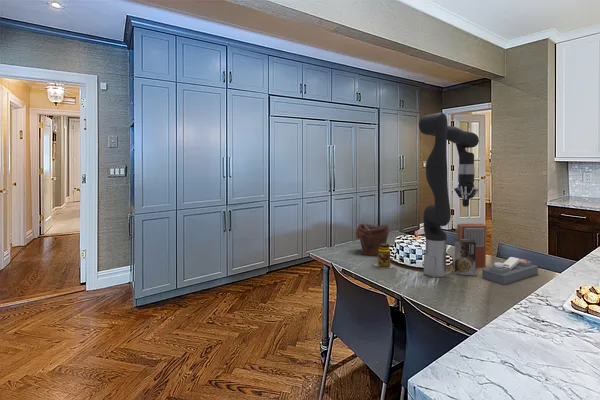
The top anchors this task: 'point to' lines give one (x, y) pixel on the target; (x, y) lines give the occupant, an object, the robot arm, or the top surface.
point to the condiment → (383, 256)
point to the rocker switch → (511, 262)
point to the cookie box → (465, 256)
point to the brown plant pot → (372, 237)
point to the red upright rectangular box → (477, 234)
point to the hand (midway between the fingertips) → (465, 206)
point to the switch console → (510, 273)
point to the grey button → (498, 265)
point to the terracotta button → (523, 260)
